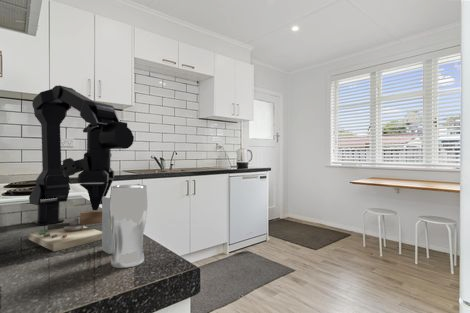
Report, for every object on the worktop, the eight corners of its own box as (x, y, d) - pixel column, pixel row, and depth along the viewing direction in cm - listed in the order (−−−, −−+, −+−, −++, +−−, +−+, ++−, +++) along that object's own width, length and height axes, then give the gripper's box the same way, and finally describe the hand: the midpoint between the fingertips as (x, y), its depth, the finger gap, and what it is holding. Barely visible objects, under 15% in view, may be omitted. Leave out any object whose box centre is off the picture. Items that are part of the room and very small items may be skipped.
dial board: (28, 239, 65) (28, 231, 65) (77, 229, 74) (77, 222, 74) (53, 251, 56) (54, 242, 56) (105, 238, 66) (105, 230, 66)
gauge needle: (47, 233, 63) (47, 217, 63) (47, 229, 67) (47, 213, 67) (104, 226, 70) (104, 211, 70) (102, 223, 74) (102, 209, 74)
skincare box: (127, 243, 62) (127, 193, 62) (136, 248, 59) (137, 195, 59) (100, 250, 57) (101, 195, 58) (109, 255, 55) (110, 198, 55)
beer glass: (133, 271, 47) (134, 188, 47) (100, 267, 49) (101, 187, 49) (153, 257, 54) (154, 185, 54) (123, 254, 55) (124, 183, 56)
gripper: (73, 149, 76) (72, 202, 76) (52, 146, 59) (51, 216, 58) (114, 150, 80) (113, 201, 80) (107, 148, 62) (106, 213, 62)
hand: (97, 206), depth 70 cm, fingers open, 9 cm apart
